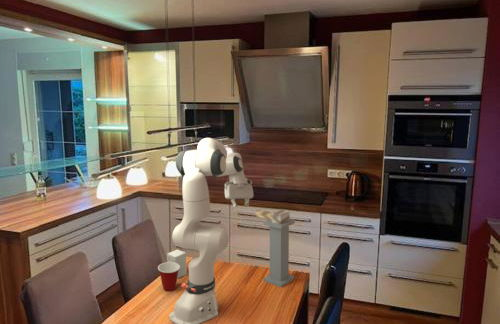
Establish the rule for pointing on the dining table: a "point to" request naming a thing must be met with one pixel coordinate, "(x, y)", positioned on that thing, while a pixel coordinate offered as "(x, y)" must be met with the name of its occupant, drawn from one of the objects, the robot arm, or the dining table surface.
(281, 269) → the pedestal shelf
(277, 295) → the dining table surface
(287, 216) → the mallet
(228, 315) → the dining table surface
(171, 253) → the supplement box
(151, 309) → the dining table surface
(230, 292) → the dining table surface
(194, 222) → the robot arm
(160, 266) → the plastic cup
